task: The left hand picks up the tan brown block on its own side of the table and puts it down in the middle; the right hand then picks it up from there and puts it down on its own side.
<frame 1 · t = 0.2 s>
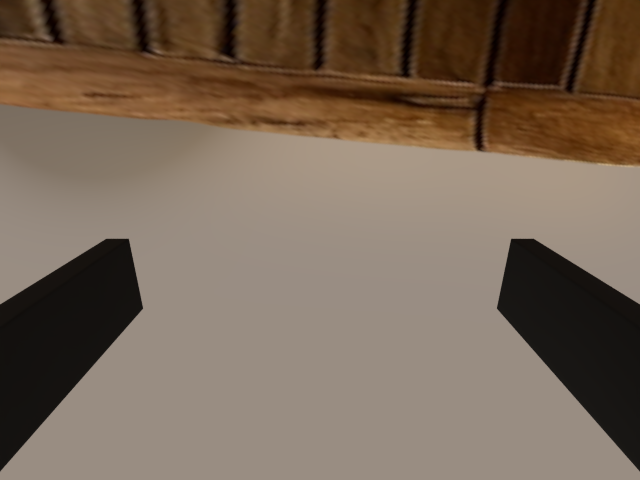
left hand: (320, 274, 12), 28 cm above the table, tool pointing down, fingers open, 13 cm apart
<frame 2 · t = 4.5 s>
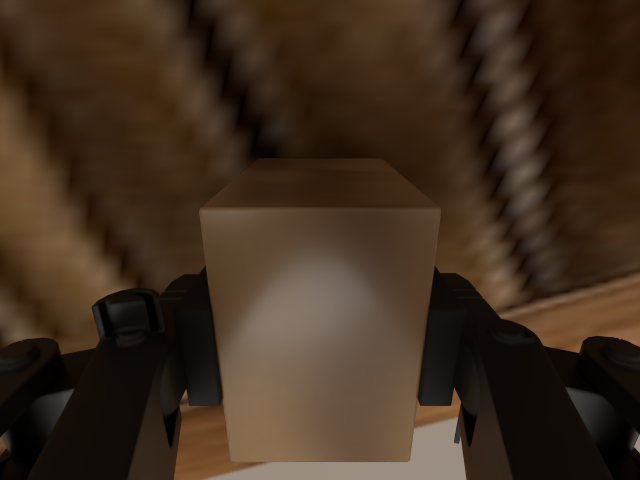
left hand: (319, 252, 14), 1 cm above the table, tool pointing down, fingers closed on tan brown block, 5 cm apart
tan brown block: (320, 243, 15), on the table, touching left hand
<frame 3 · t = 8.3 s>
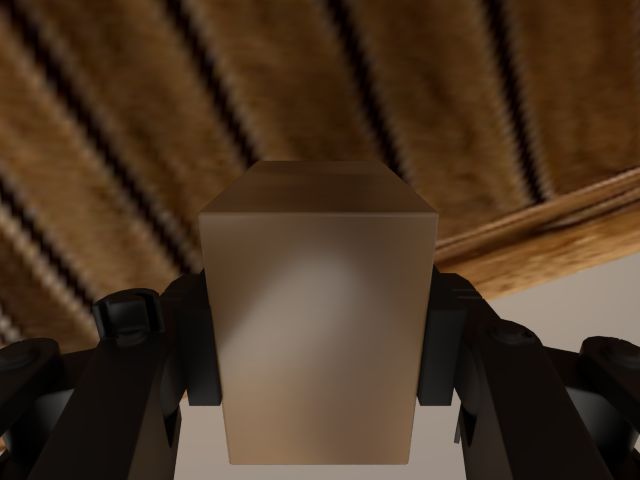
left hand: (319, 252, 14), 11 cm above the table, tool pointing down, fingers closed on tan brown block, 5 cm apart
tan brown block: (319, 245, 15), point 10 cm above the table, touching left hand
when the left hand's fingers open (2 cm above the table, at t = 12.6 s): tan brown block drops 1 cm, on the table.
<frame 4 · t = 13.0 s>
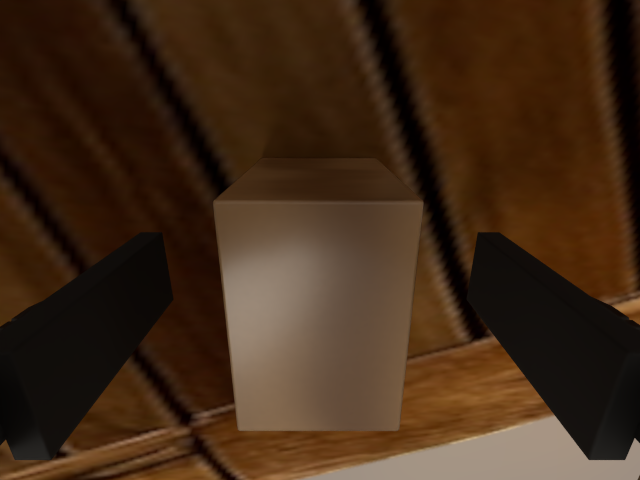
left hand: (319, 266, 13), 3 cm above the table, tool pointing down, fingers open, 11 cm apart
tan brown block: (318, 237, 16), on the table
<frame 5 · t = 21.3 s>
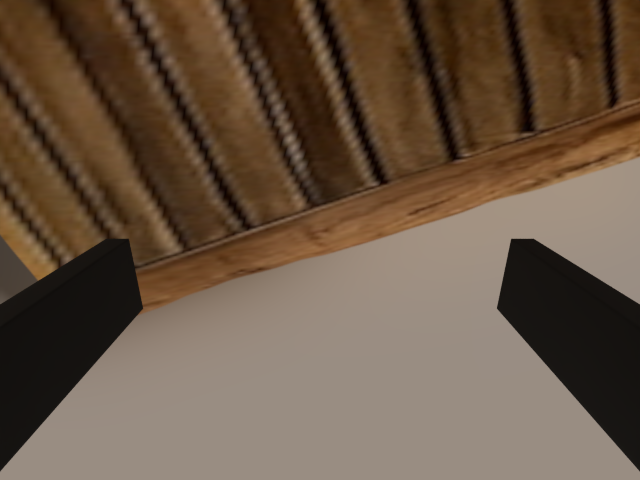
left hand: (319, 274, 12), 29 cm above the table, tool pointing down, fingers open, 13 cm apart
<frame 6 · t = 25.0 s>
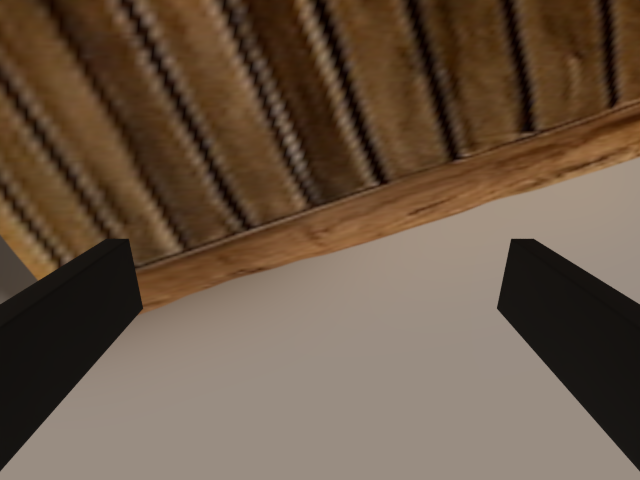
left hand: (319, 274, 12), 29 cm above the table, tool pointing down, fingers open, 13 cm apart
when the right hand's fingers open (4 cm above the table, at t = 28.7 s): tan brown block drops 1 cm, on the table.
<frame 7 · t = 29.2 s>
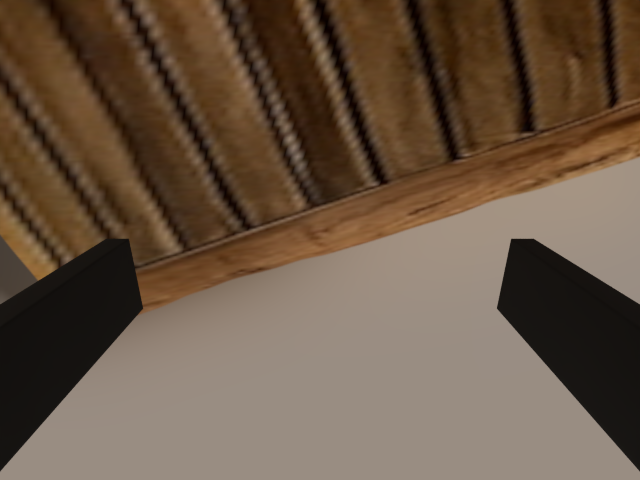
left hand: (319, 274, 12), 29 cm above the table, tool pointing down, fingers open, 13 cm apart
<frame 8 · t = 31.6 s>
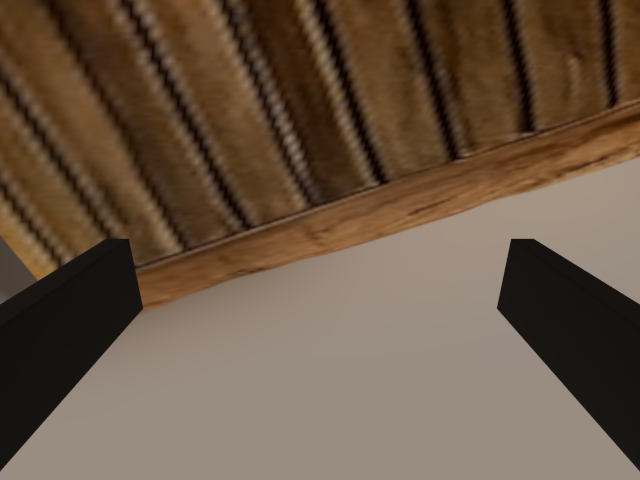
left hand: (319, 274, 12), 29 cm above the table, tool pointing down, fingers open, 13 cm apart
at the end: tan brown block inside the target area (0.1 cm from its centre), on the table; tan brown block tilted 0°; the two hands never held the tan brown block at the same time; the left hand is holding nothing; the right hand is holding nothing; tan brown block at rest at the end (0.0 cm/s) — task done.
